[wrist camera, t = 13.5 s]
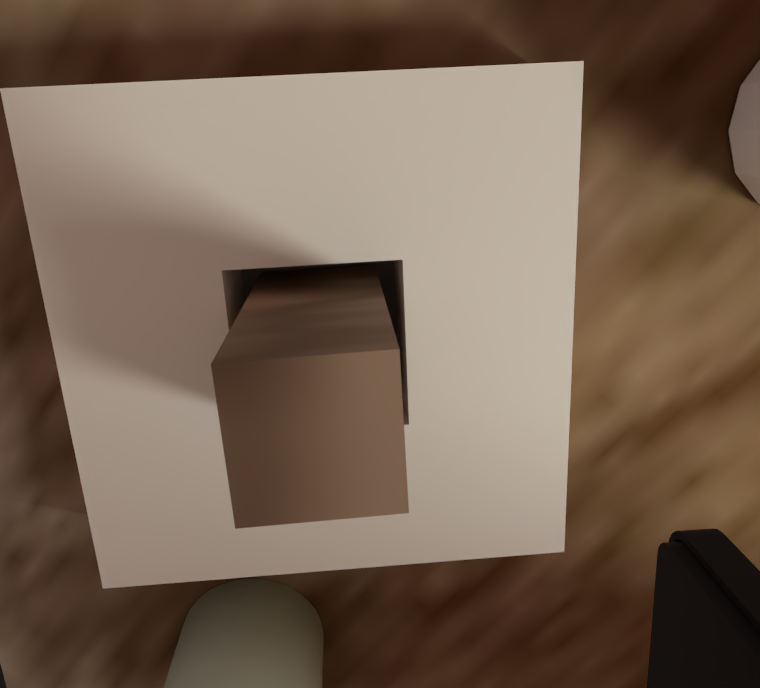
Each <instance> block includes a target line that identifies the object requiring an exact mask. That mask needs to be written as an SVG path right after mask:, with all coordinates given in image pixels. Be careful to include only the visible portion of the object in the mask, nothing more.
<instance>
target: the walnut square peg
mask: <svg viewBox="0 0 760 688" xmlns="http://www.w3.org/2000/svg"><path fill="white" fill-rule="evenodd" d="M211 369H212V375H213V382H214V389H215V396H216V402H217V409H218V416H219V423H220V429H221V436H222V443H223V449H224V456H225V463H226V470H227V476H228V483H229V490H230V497H231V503H232V510H233V517H234V523H235V529H238V528H249V527H260V526H271V525H282V524H293V523H305V522H316V521H327V520H338V519H349V518H360V517H371V516H382V515H394V514H405V513H409V504H408V487H407V470H406V453H405V435H404V418H403V401H402V384H401V366H400V349H399V346H398V342H397V339H396V335H395V332H394V329H393V325H392V322H391V318H390V315H389V312H388V308H387V305H386V301H385V298H384V294H383V291H382V288H381V284H380V281H379V277H378V274H377V271H376V267H375V264H362V265H348V266H335V267H322V268H308V269H295V270H282V271H268V272H261V274H260V276H259V278H258V280H257V282H256V283H255V285H254V287H253V289H252V291H251V292H250V294H249V296H248V298H247V300H246V301H245V303H244V305H243V307H242V309H241V310H240V312H239V314H238V316H237V318H236V319H235V321H234V323H233V325H232V327H231V328H230V330H229V332H228V334H227V336H226V338H225V339H224V341H223V343H222V345H221V347H220V348H219V350H218V352H217V354H216V356H215V357H214V359H213V361H212V363H211Z"/></svg>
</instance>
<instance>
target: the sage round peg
mask: <svg viewBox="0 0 760 688" xmlns="http://www.w3.org/2000/svg"><path fill="white" fill-rule="evenodd" d="M322 673H323V627H322V623H321V620H320V617H319V615H318V613H317V611H316V610H315V608H314V607H313V606H312V604H311V603H310V602H309V601H308V600H307V599H306V598H305V597H304V596H303V595H301V594H300V593H299V592H297V591H296V590H294V589H292V588H291V587H288V586H286V585H284V584H281V583H278V582H275V581H271V580H266V579H240V580H234V581H230V582H227V583H224V584H221V585H219V586H217V587H215V588H213V589H211V590H209V591H208V592H207V593H205V594H204V595H203V596H201V597H200V598H199V599H198V600H197V601H196V602H195V604H194V605H193V606H192V607H191V609H190V611H189V612H188V614H187V616H186V619H185V621H184V624H183V627H182V631H181V634H180V637H179V640H178V643H177V646H176V650H175V653H174V656H173V659H172V662H171V665H170V669H169V672H168V675H167V678H166V681H165V684H164V688H322Z"/></svg>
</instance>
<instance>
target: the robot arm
mask: <svg viewBox="0 0 760 688" xmlns="http://www.w3.org/2000/svg"><path fill="white" fill-rule="evenodd" d="M0 688H6V684H5V680H4V676H3V672H2V669H1V665H0ZM647 688H760V571H759V570H758V569H757V568H756V567H755V566H754V565H753V564H752V563H751V562H750V561H749V560H748V559H747V558H746V557H745V555H744V554H743V553H742V552H741V551H740V550H739V549H738V548H737V547H736V546H735V545H734V544H733V543H732V542H731V541H730V540H729V539H728V538H727V537H726V536H725V535H724V534H723V533H722V532H721V531H719V530H718V529H701V530H686V531H675V532H674V533H672V535H671V537H670V539H669V542H668V543H662V544H660V546H659V548H658V555H657V568H656V580H655V593H654V606H653V618H652V631H651V644H650V657H649V669H648V682H647Z"/></svg>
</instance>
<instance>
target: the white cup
mask: <svg viewBox="0 0 760 688" xmlns="http://www.w3.org/2000/svg"><path fill="white" fill-rule="evenodd" d="M728 133H729V139H730V145H731V152H732V158H733V164H734V171H735V174H736V175H737V176H738V178H739V179H740V180H741V182H742V183H743V184H744V186H745V187H746V188H747V190H748V191H749V192H750V194H751V195H752V196H753V198H754V199H755V200H756V202H757V203H758V204H760V60H759V61H758V62H757V64H756V65H755V67H754V68H753V69H752V71H751V72H750V73H749V75H748V76H747V77H746V79H745V80H744V81H743V83H742V84H741V86H740V89H739V93H738V96H737V100H736V104H735V108H734V111H733V115H732V119H731V123H730V126H729V130H728Z"/></svg>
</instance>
